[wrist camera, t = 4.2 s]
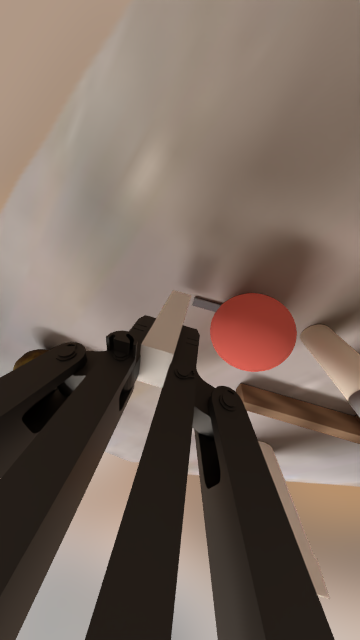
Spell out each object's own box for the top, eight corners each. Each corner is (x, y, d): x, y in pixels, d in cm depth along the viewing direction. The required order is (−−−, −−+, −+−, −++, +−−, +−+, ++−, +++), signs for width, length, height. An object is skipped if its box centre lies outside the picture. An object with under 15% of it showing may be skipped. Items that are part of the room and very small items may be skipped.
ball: (263, 405, 10) (272, 356, 15) (327, 340, 7) (314, 302, 11) (189, 358, 13) (216, 327, 17) (211, 292, 9) (237, 276, 14)
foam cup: (219, 438, 29) (224, 565, 18) (270, 433, 25) (316, 593, 14) (240, 458, 32) (255, 577, 21) (288, 457, 28) (336, 601, 18)
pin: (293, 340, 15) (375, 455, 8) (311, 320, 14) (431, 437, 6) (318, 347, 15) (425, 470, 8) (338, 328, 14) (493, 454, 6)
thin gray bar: (192, 304, 15) (192, 305, 15) (194, 297, 14) (194, 298, 14) (271, 326, 15) (272, 327, 15) (276, 320, 14) (277, 321, 14)
